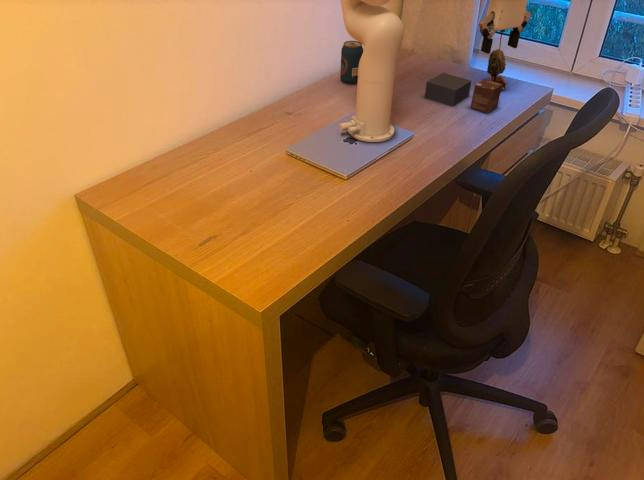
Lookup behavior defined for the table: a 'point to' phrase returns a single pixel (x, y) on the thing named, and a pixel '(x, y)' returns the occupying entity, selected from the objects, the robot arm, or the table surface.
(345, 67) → the soda can
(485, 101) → the box
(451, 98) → the block
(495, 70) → the plant with pod
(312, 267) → the table surface
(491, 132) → the table surface
